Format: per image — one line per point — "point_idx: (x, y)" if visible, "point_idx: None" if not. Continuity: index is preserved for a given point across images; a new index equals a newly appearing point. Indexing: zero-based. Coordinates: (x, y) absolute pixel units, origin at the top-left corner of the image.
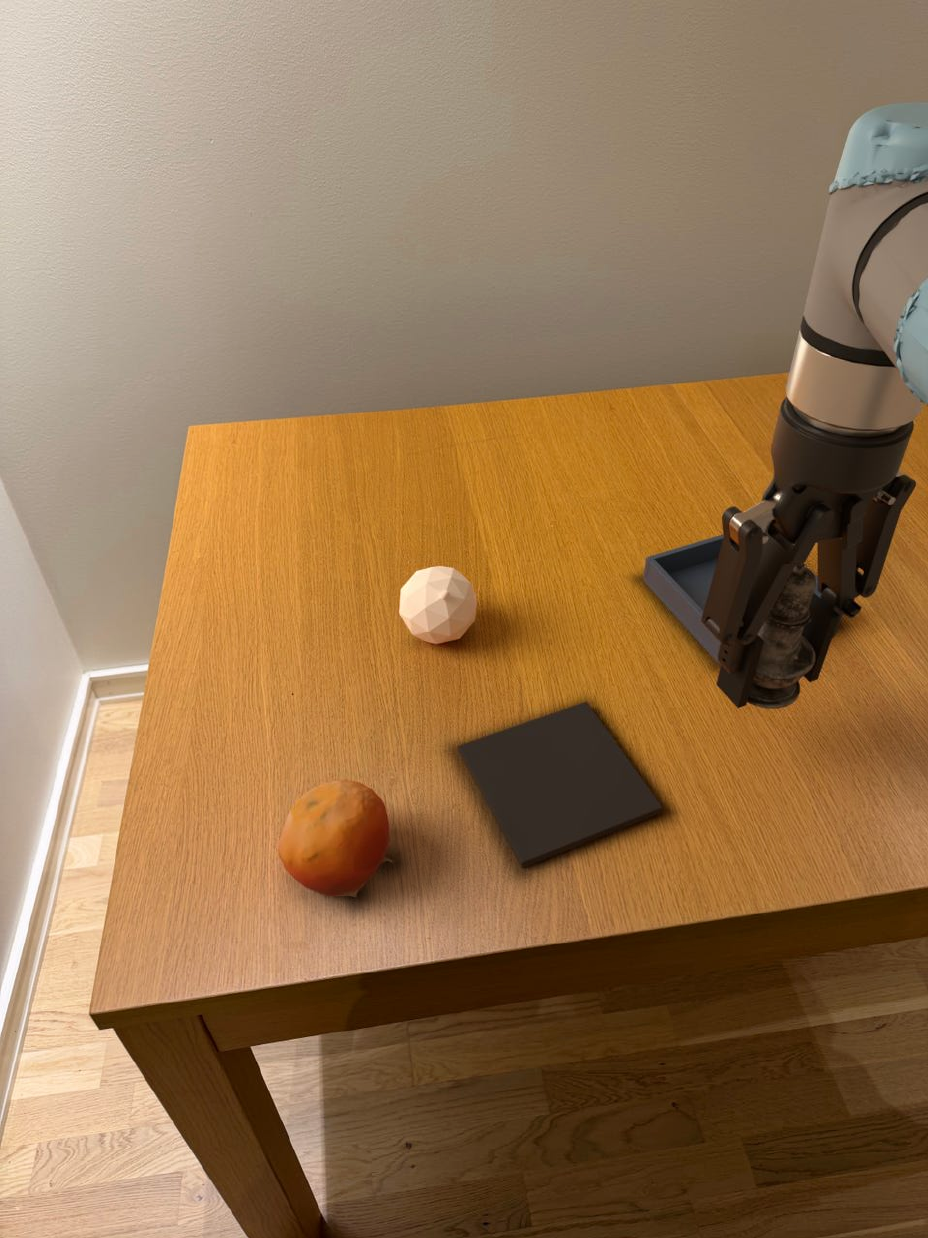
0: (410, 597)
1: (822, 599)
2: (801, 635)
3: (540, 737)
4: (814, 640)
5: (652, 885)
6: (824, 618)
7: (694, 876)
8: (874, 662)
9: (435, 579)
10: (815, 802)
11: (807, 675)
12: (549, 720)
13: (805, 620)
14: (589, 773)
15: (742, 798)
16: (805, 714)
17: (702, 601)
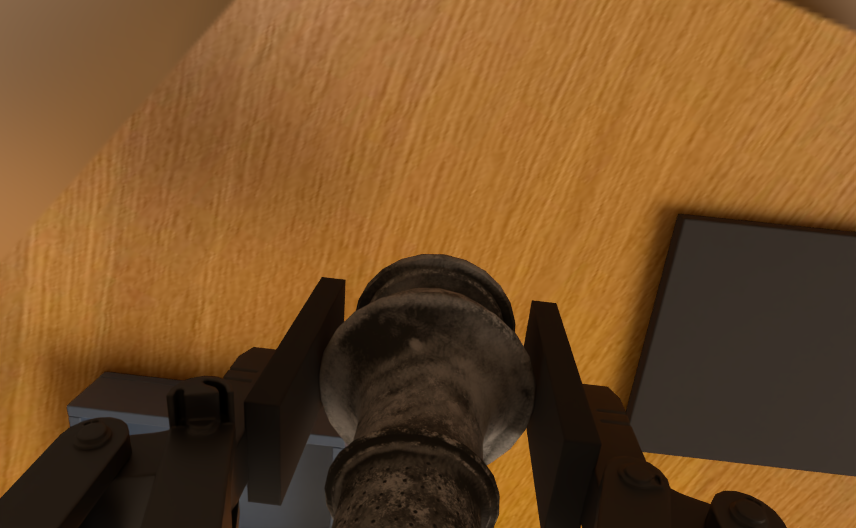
0: None
1: (246, 475)
2: (322, 393)
3: (745, 429)
4: (314, 364)
5: (809, 102)
6: (286, 414)
7: (733, 78)
8: (97, 278)
9: None
10: (420, 92)
11: (342, 296)
12: (706, 448)
13: (393, 443)
14: (734, 335)
15: (530, 166)
16: (295, 251)
17: (292, 514)
